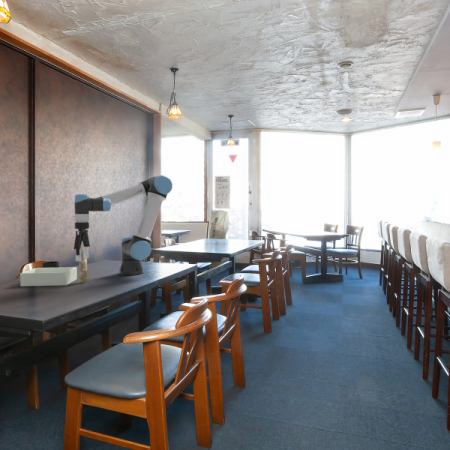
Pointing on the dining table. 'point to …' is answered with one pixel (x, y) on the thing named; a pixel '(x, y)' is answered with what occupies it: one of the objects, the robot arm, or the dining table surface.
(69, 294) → the dining table surface
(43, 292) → the dining table surface
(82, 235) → the robot arm
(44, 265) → the mug
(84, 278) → the dowel
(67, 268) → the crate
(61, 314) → the dining table surface
